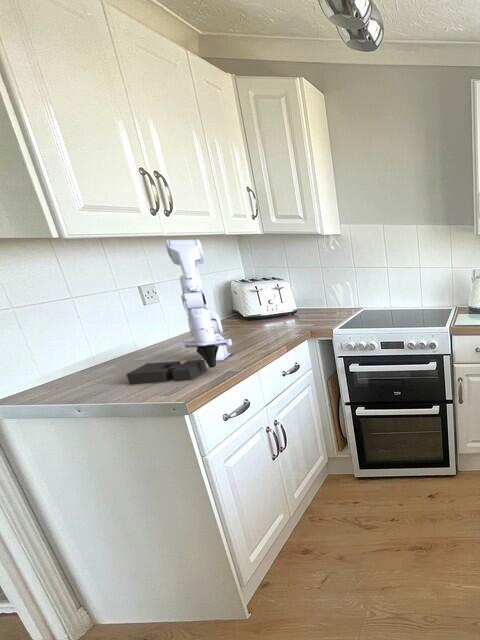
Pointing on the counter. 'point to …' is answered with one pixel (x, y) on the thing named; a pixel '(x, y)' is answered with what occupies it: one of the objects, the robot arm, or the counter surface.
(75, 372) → the counter surface
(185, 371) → the tab pad
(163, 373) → the notch pad
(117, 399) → the counter surface
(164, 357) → the counter surface
